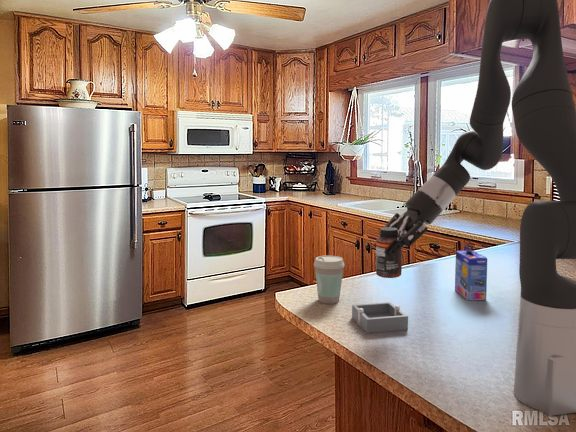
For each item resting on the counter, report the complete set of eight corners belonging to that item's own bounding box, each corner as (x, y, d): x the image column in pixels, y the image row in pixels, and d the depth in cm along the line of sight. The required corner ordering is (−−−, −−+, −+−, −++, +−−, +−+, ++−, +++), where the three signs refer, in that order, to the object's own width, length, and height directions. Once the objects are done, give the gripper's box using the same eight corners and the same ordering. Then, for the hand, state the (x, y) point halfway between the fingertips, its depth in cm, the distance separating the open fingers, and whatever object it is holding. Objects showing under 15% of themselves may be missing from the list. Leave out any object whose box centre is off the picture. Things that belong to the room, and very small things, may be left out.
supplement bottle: (393, 271, 110) (394, 225, 108) (406, 277, 104) (407, 229, 102) (371, 273, 108) (371, 227, 106) (383, 280, 102) (384, 231, 100)
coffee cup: (320, 293, 130) (320, 253, 129) (348, 297, 127) (348, 256, 125) (308, 302, 123) (308, 260, 121) (338, 307, 119) (338, 263, 117)
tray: (408, 329, 104) (409, 313, 103) (365, 333, 102) (366, 316, 101) (390, 314, 114) (390, 299, 113) (351, 317, 112) (351, 302, 111)
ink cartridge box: (453, 290, 133) (455, 242, 131) (471, 289, 134) (473, 242, 132) (467, 300, 124) (469, 249, 122) (486, 300, 124) (489, 249, 122)
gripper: (406, 186, 111) (360, 235, 111) (435, 192, 97) (382, 248, 97) (426, 207, 113) (380, 255, 113) (456, 215, 99) (405, 270, 98)
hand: (381, 251), depth 105 cm, fingers closed on supplement bottle, 6 cm apart
